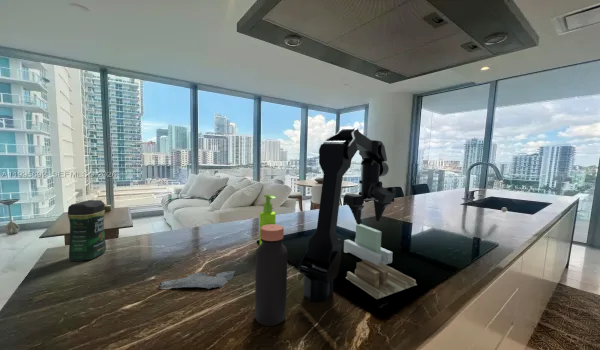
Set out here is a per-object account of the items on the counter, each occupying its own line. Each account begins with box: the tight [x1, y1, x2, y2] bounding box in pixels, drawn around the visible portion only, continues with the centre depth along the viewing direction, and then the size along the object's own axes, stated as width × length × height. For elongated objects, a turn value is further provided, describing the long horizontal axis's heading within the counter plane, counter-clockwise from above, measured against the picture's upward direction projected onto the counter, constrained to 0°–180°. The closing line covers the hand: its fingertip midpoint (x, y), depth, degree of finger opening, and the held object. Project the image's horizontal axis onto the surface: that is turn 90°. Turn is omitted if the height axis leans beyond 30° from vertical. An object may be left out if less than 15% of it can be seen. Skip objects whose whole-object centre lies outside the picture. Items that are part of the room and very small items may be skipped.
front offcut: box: [355, 261, 380, 290], centre depth 67 cm, size 2×7×5 cm, turn 29°
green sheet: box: [354, 223, 382, 254], centre depth 86 cm, size 2×10×10 cm, turn 29°
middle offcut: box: [361, 259, 388, 288], centre depth 68 cm, size 2×8×5 cm, turn 29°
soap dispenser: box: [259, 194, 277, 246], centre depth 95 cm, size 6×7×20 cm
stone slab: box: [156, 270, 236, 290], centre depth 69 cm, size 18×2×10 cm
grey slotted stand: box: [343, 237, 394, 267], centre depth 87 cm, size 7×16×4 cm, turn 29°
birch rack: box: [345, 263, 418, 300], centre depth 69 cm, size 16×12×2 cm
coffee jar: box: [67, 199, 107, 262], centre depth 82 cm, size 10×8×19 cm
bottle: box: [254, 223, 288, 327], centre depth 54 cm, size 7×7×20 cm
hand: (368, 222), depth 86 cm, fingers open, 9 cm apart
